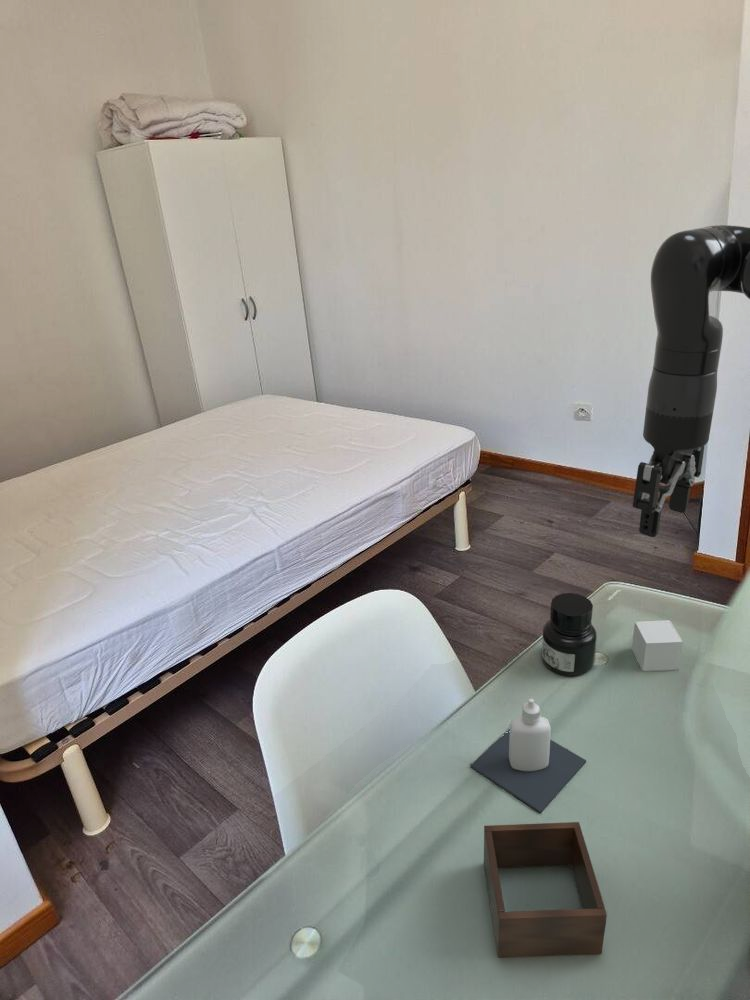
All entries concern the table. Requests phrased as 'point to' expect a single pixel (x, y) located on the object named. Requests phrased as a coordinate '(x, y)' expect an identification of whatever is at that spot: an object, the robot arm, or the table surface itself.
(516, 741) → the eye dropper bottle
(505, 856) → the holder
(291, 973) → the table surface
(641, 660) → the grey cube
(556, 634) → the ink bottle
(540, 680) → the table surface
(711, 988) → the table surface
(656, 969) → the table surface
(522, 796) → the mat
